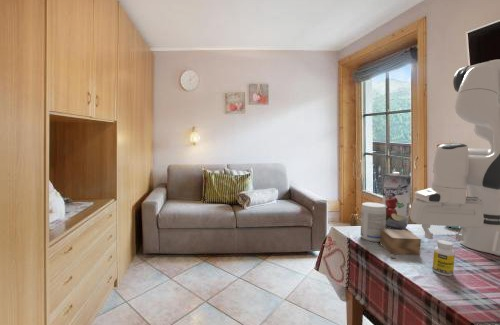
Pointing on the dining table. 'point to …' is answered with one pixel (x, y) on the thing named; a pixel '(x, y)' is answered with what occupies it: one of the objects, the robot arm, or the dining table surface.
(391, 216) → the juice carton
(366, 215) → the supplement tub
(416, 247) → the walnut block
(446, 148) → the robot arm
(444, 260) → the supplement bottle
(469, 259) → the dining table surface
